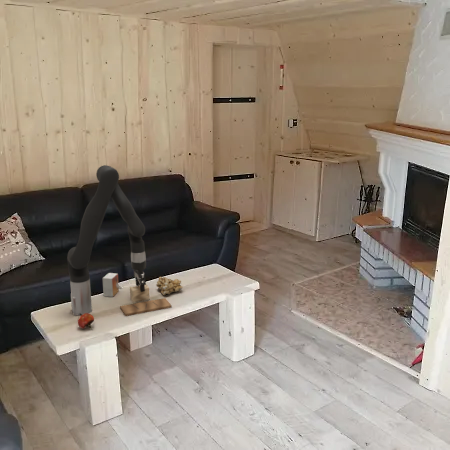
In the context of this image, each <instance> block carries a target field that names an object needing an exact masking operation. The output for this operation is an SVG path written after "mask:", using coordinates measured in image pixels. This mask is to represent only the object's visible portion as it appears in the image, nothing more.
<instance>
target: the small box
mask: <svg viewBox="0 0 450 450" xmlns="http://www.w3.org/2000/svg"><path fill="white" fill-rule="evenodd" d="M102 290H103V291H102V292H103V296H104V297H112V298H113V297H114V296H115V295H117V293H119V291H120V289H119V274H118V273H113V272H108V273H107V274H106V275H105V276H103V277H102Z"/></svg>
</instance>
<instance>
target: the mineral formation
mask: <svg viewBox="0 0 450 450" xmlns="http://www.w3.org/2000/svg"><path fill="white" fill-rule="evenodd" d="M157 280H158V281H156V288H158V289H160V290H161V291H160V293H161V294H162V295H163V296H164V297H165V296H166V295H171V293H176V292H179V291H180V289H181V290H182V289H183V286H182V285H181V284H182V280H180V279H177V278H175V279H174V280H173V279H170V278H168V277H166V276H159V277H158V279H157Z"/></svg>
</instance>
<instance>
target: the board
mask: <svg viewBox="0 0 450 450" xmlns="http://www.w3.org/2000/svg"><path fill="white" fill-rule="evenodd" d="M171 308H172V305H171V303H170V302H169V300H167V298H166V297H163V298H158V299H151V300H147V301H142V302H136V303H131V304H130V303H129V304H124V305H120V306H119V309H120V310H121V313H122V314H123V315H124V317H129V316H134V315H139V314H145V313H149V312H151V313H152V312H156V311H159V310H165V309H171Z"/></svg>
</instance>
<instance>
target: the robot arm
mask: <svg viewBox="0 0 450 450" xmlns="http://www.w3.org/2000/svg"><path fill="white" fill-rule="evenodd" d="M96 180H97V181H98V185H97V189H96V192H95V194H94V196H93V197H92V198H91V200H90V201H89V203H88V204H87V206H86V208H85V210H84V213H83V216H82V218H81V222H80V229H79V236H78V241H77V244H76V245H75V246H73V247H71V248H70V249H69V250H68V252H67V254H66V257H67V259H66V260H67V268H68V269H67V270H68V275H69V282H70V285H69V286H70V292H71V293H70V301H71V312H72V314H73V316H80V313H81V314H82V315H83V314H85V313H88V314H91V313H92V311H93V307H92V306H93V305H92V304H93V303H92V292H91V278H90V271H89V266H88V264H89V262H90V259H91V255H92V250H93V246H94V243H95V241H96V239H97V236H98V233H99V231H100V229H101V226H102V224H103V221H104V218H105V215H106V211H107V209H108V207H109V203H110V200H112V201H113V204H114V206H115V207H116V209H117V211H118V213H119V214H120V217H121V218H122V220H123V221H124V222H125V223H126V224H127V234H128V238H129V243H130V261H131V262H130V264H131V269H132V270H133V277H134V279H135V286H140V291H141V292H144V291H145V286H144V285H147V283H146V274H145V272H144V270H145V269H146V268H147V258H146V257H147V256H146V251H145V245H146V244H145V241H144V240H143V236H144V235H145V234H146V226H145V224H144V223H143V222H142V220H141V219H140V218H139V216H138V214H137V213H136V211H135V208H134V206H133V205H132V203H131V201H130V200H129V199H128V197H127V196H126V194H125V193H124V191H123V190H122V188H121V187H120V185H119V183H118V182H119V180H120V174H119V171H118V170H117V169H116V168H114V167H112V166H110V165H107V164H106V165H101V166H100V167H98V168H97V170H96Z"/></svg>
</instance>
